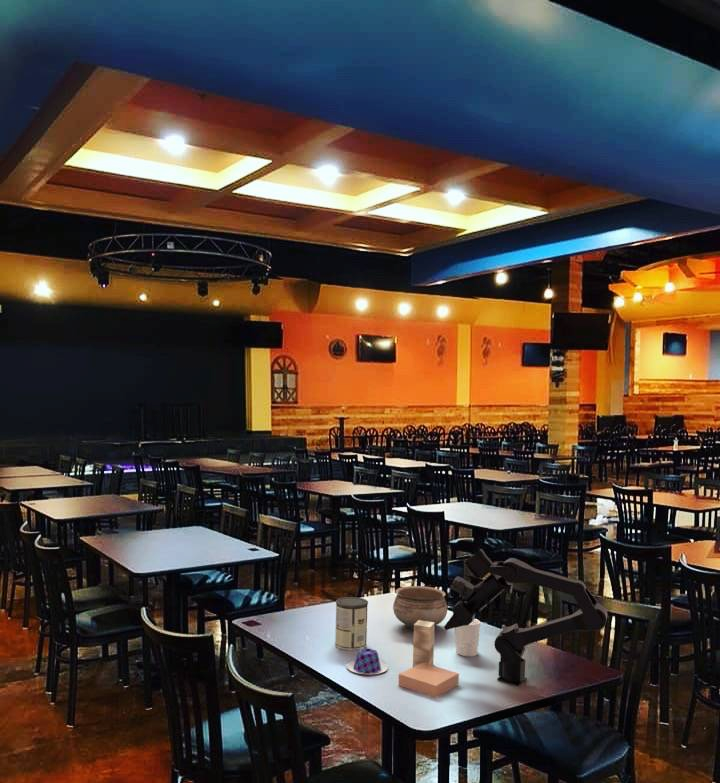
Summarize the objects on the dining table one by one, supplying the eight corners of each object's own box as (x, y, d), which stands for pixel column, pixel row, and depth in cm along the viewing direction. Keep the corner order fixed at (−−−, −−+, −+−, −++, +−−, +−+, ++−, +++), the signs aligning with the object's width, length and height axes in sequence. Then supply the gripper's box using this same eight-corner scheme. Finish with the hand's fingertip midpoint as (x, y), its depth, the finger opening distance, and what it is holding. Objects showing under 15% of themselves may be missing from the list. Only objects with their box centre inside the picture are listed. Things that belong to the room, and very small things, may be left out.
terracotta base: (458, 684, 196) (458, 673, 196) (435, 697, 186) (435, 685, 186) (422, 672, 203) (422, 662, 203) (398, 684, 194) (398, 674, 194)
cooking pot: (416, 642, 230) (418, 604, 230) (375, 628, 243) (376, 592, 244) (462, 627, 247) (464, 592, 248) (421, 614, 261) (422, 581, 261)
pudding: (360, 658, 214) (360, 641, 214) (394, 667, 207) (395, 649, 208) (338, 670, 203) (339, 652, 204) (374, 680, 197) (375, 661, 197)
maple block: (433, 664, 210) (434, 622, 211) (429, 670, 206) (430, 627, 206) (417, 661, 212) (418, 620, 212) (412, 667, 207) (414, 624, 208)
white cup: (478, 658, 217) (479, 625, 217) (453, 655, 218) (454, 623, 218) (479, 650, 224) (480, 618, 225) (454, 647, 226) (455, 616, 226)
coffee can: (343, 638, 232) (344, 595, 232) (371, 643, 227) (373, 599, 228) (328, 647, 222) (330, 602, 223) (358, 653, 218) (359, 607, 218)
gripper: (474, 562, 214) (437, 594, 217) (461, 575, 196) (422, 610, 200) (499, 591, 211) (462, 623, 215) (488, 607, 194) (448, 642, 197)
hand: (448, 624), depth 207 cm, fingers open, 9 cm apart
